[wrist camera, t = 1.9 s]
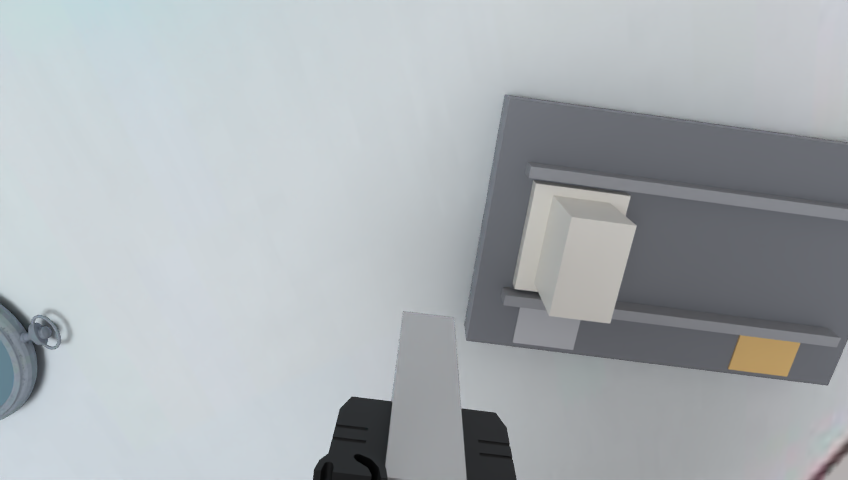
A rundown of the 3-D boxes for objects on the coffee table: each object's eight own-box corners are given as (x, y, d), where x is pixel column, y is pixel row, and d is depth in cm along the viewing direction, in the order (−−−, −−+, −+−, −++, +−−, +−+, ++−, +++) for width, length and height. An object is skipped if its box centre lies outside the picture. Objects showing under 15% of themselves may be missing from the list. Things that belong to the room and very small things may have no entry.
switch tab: (599, 294, 31) (627, 335, 27) (512, 283, 31) (526, 322, 27) (625, 192, 29) (661, 218, 25) (533, 179, 29) (552, 203, 25)
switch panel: (806, 367, 35) (841, 397, 32) (464, 324, 34) (467, 351, 31) (896, 149, 31) (947, 160, 28) (504, 94, 30) (513, 99, 27)
